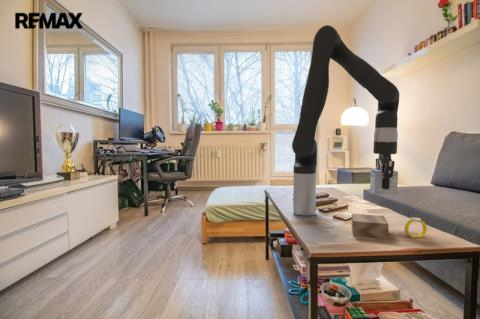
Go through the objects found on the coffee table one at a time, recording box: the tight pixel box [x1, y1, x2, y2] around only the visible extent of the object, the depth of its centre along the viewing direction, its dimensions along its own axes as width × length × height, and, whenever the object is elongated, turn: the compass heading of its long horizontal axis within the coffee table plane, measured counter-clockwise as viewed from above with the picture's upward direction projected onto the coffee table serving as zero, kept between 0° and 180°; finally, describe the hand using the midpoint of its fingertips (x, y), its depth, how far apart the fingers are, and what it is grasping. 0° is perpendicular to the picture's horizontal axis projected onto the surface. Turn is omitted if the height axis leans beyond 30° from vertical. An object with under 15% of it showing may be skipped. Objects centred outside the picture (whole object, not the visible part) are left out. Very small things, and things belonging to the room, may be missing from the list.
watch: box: [404, 217, 428, 238], centre depth 85 cm, size 6×3×6 cm, turn 88°
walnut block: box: [351, 213, 389, 240], centre depth 89 cm, size 10×10×5 cm
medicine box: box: [369, 169, 399, 196], centre depth 99 cm, size 8×4×9 cm, turn 84°
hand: (383, 187), depth 99 cm, fingers closed on medicine box, 4 cm apart
